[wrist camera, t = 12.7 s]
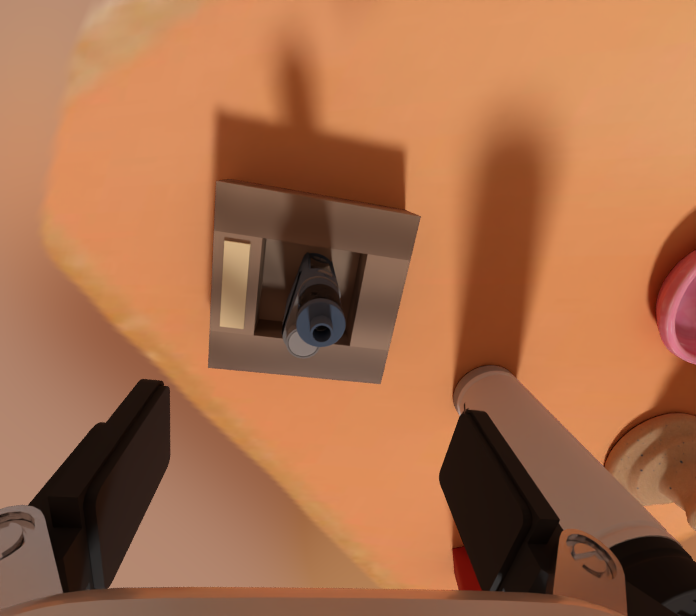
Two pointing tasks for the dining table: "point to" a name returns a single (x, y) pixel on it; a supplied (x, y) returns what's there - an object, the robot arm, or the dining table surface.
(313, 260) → the vaping device
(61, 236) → the dining table surface
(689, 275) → the saucer
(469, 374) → the travel mug
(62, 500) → the robot arm
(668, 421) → the candle holder
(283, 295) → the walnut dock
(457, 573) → the french fries
